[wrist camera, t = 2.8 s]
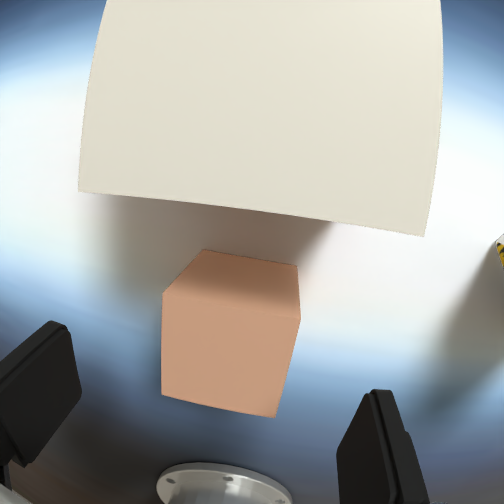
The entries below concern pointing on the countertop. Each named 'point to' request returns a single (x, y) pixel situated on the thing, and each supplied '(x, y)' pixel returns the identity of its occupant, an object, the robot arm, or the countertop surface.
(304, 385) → the countertop surface
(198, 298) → the terracotta block
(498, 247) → the medicine bottle
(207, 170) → the cream block
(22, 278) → the countertop surface
